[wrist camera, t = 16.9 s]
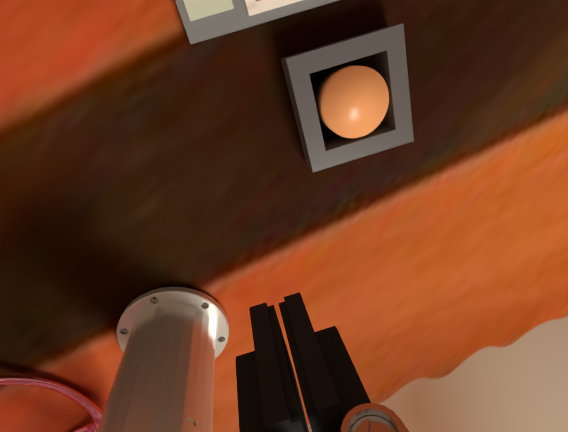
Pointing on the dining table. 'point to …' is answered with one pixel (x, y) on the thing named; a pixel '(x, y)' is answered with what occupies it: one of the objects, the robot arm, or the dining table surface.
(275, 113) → the dining table surface
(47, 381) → the spiral basket
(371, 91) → the button
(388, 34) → the button housing
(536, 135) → the dining table surface
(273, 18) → the picture board
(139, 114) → the dining table surface
